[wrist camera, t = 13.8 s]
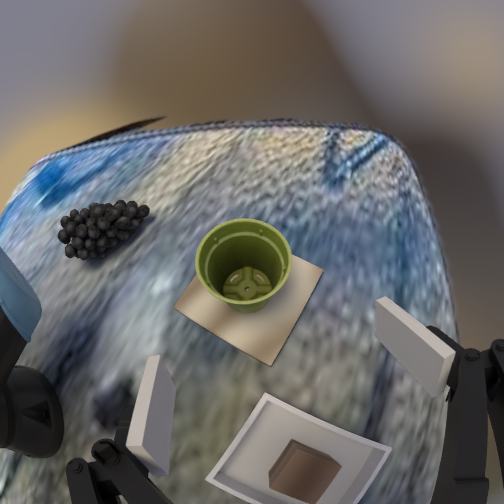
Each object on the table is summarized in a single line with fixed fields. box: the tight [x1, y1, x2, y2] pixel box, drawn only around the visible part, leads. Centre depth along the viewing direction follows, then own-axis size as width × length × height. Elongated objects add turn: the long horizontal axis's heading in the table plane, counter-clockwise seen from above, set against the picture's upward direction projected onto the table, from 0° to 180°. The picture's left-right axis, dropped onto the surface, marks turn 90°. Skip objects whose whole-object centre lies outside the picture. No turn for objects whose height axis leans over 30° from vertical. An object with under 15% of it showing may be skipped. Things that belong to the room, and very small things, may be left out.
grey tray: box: [205, 392, 392, 504], centre depth 23 cm, size 16×12×4 cm
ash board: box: [173, 255, 323, 367], centre depth 35 cm, size 14×14×1 cm
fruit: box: [58, 200, 150, 260], centre depth 37 cm, size 9×8×15 cm
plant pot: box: [195, 219, 292, 313], centre depth 31 cm, size 9×9×9 cm
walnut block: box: [268, 439, 342, 504], centre depth 21 cm, size 5×5×6 cm
